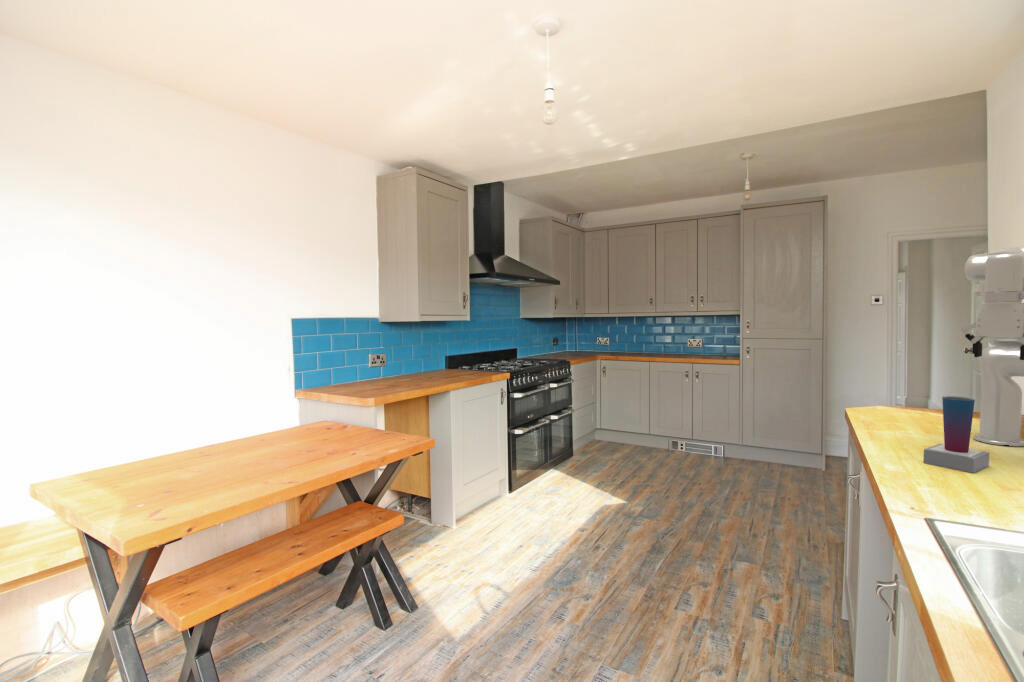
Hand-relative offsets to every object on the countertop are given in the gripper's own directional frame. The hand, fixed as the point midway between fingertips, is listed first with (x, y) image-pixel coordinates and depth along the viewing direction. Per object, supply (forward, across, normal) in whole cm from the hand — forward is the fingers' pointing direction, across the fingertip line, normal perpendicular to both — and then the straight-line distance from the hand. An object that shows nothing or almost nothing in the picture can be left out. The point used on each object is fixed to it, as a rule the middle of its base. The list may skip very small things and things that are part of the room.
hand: (1000, 358), depth 140 cm
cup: (+26, +4, +14) cm, 29 cm away
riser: (+30, +4, +14) cm, 33 cm away
